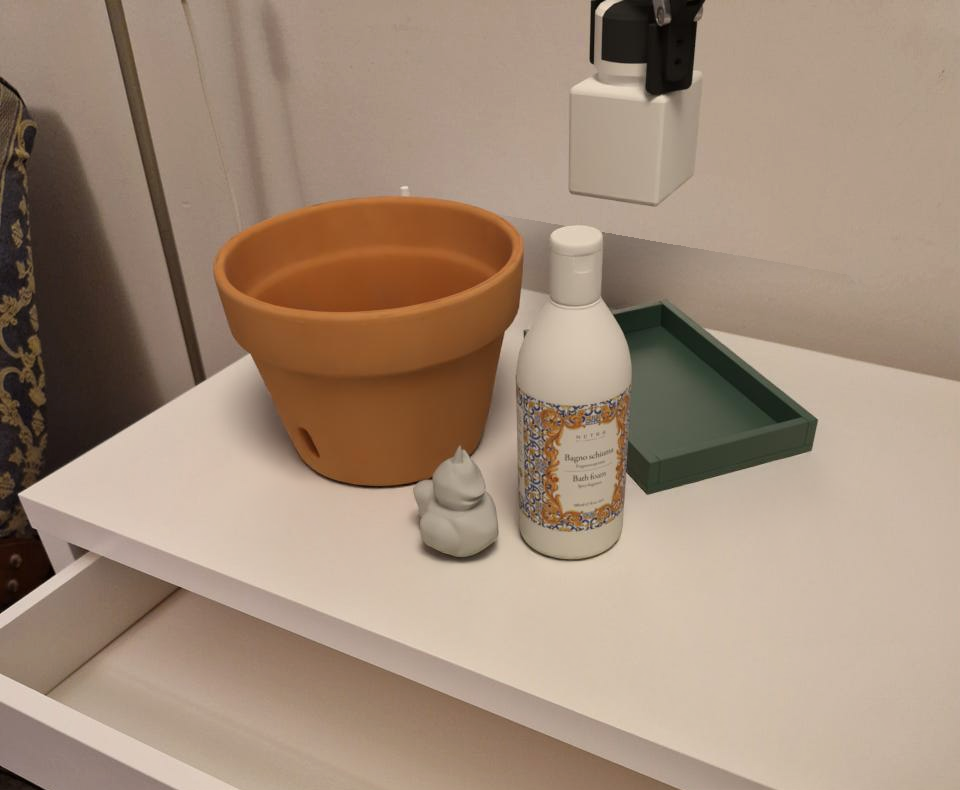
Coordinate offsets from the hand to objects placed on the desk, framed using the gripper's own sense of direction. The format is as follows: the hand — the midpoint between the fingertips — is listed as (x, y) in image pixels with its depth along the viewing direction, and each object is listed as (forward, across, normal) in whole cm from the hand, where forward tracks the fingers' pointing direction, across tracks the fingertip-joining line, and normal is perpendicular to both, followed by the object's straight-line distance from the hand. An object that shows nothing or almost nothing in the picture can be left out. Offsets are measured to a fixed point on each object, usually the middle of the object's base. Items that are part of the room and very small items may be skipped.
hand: (638, 74), depth 69 cm
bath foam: (+22, -19, +14) cm, 32 cm away
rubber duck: (+22, -17, +21) cm, 35 cm away
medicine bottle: (+8, 0, 0) cm, 8 cm away
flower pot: (+22, -2, +21) cm, 31 cm away
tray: (+22, -6, 0) cm, 23 cm away
